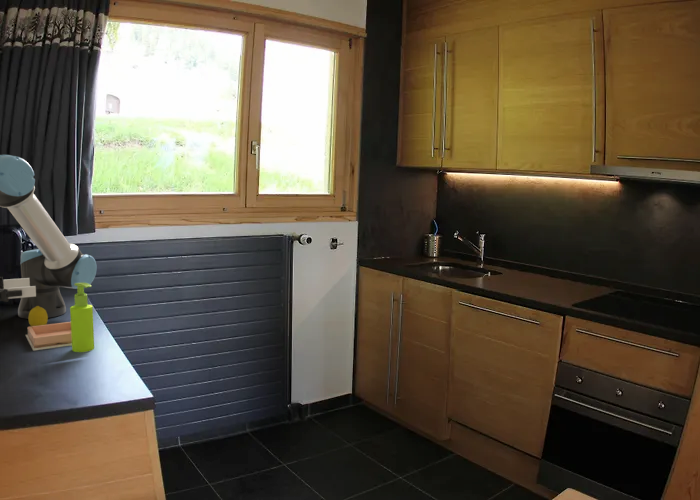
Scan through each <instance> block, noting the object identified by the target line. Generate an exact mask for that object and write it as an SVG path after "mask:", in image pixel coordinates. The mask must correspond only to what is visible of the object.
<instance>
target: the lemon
mask: <svg viewBox="0 0 700 500" xmlns="http://www.w3.org/2000/svg"><path fill="white" fill-rule="evenodd" d="M48 319H49V318H48V316H47V312H46V310H45V309H43V308H42V307H39V306H36V307H35V308H33V309H32V310H31V311H30V313H29V317H28V324H29V326H30V327H31V326H39V325H47V324H48V321H49V320H48Z"/></svg>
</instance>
